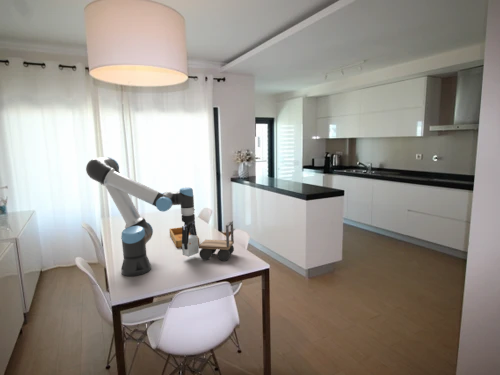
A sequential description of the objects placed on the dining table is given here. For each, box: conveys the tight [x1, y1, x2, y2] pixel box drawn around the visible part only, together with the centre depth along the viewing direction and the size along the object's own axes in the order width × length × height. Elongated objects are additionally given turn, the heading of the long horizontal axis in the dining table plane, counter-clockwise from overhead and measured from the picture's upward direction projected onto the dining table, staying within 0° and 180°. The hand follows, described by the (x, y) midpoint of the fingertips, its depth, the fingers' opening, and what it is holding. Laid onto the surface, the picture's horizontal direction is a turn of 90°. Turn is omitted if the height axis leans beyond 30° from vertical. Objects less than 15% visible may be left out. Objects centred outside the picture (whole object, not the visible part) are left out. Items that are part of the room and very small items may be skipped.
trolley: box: [198, 220, 235, 262], centre depth 183 cm, size 12×18×21 cm, turn 78°
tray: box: [169, 226, 200, 249], centre depth 220 cm, size 31×15×6 cm, turn 22°
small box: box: [181, 235, 200, 257], centre depth 183 cm, size 8×6×10 cm
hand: (190, 251), depth 183 cm, fingers closed on small box, 9 cm apart
